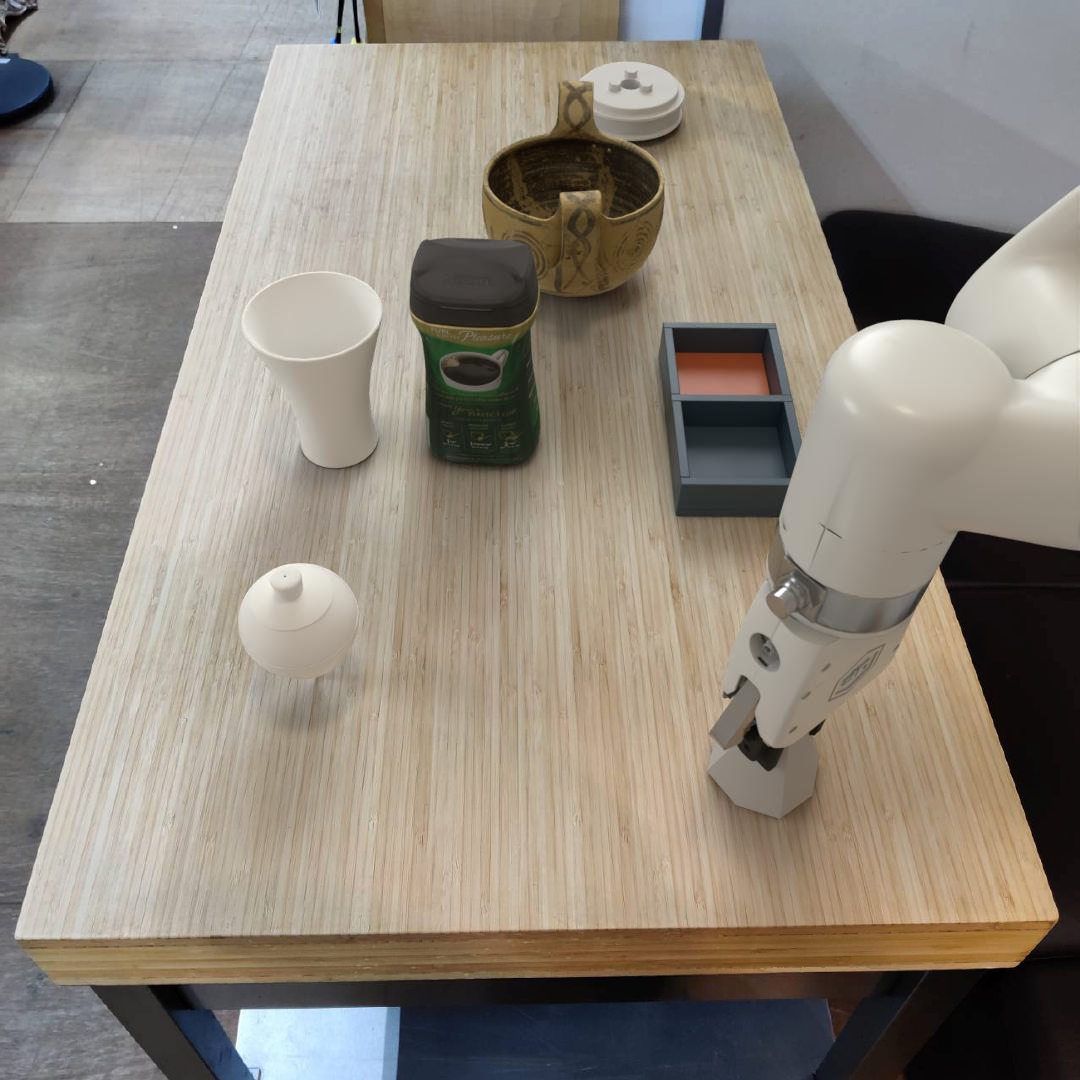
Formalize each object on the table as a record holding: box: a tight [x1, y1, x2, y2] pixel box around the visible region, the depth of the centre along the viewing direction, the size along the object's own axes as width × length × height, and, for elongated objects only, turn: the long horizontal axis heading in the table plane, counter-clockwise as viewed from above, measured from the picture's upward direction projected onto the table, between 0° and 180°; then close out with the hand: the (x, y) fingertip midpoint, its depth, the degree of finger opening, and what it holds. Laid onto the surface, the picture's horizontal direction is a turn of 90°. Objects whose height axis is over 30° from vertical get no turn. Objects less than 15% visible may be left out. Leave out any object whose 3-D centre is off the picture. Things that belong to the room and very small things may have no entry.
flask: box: [706, 732, 820, 820], centre depth 61 cm, size 7×7×10 cm
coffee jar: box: [408, 237, 541, 467], centre depth 77 cm, size 10×8×19 cm
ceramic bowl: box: [481, 79, 666, 298], centre depth 92 cm, size 22×17×15 cm
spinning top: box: [237, 562, 360, 681], centre depth 65 cm, size 8×8×12 cm
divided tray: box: [658, 321, 803, 518], centre depth 83 cm, size 19×10×4 cm, turn 0°
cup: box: [240, 270, 384, 469], centre depth 78 cm, size 10×10×14 cm
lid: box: [578, 61, 686, 142], centre depth 115 cm, size 13×13×5 cm
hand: (776, 733), depth 62 cm, fingers closed on flask, 3 cm apart
